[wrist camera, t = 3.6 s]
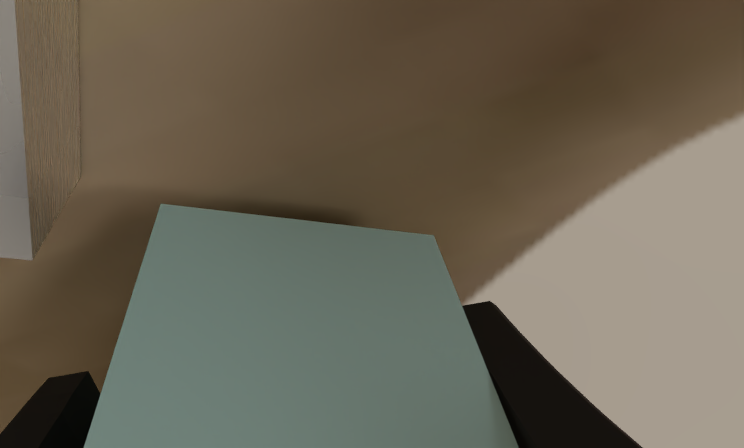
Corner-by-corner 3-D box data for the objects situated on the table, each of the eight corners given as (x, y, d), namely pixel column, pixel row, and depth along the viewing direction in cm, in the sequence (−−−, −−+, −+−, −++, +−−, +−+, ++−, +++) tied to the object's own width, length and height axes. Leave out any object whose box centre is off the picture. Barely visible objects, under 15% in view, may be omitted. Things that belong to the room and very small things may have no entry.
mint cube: (433, 234, 10) (540, 502, 6) (376, 412, 13) (426, 695, 8) (160, 203, 9) (68, 497, 5) (151, 402, 12) (81, 719, 7)
